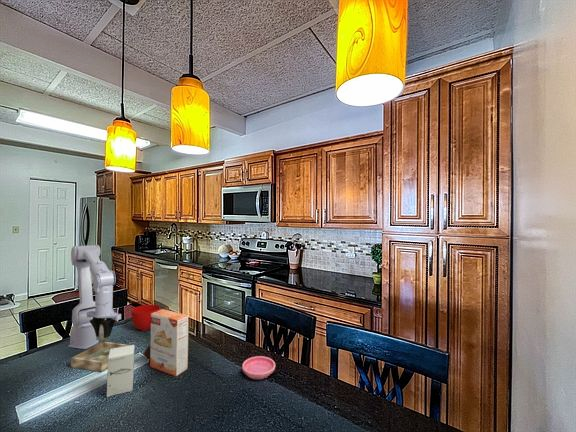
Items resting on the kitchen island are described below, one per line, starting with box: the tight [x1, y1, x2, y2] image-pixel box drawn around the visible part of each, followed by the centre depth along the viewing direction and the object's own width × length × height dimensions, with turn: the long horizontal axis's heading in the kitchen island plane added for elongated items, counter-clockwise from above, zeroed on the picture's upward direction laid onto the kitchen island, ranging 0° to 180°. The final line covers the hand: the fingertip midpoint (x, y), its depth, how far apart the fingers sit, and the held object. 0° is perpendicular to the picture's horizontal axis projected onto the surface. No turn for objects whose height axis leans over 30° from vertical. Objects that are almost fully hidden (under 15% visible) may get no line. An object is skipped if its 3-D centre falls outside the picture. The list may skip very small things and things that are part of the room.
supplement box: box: [106, 344, 135, 398], centre depth 90 cm, size 7×7×13 cm
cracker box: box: [149, 308, 189, 377], centre depth 102 cm, size 14×6×21 cm, turn 65°
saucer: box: [241, 355, 276, 380], centre depth 101 cm, size 12×12×3 cm
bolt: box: [143, 345, 151, 361], centre depth 116 cm, size 6×5×15 cm
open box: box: [70, 341, 130, 373], centre depth 107 cm, size 14×14×4 cm
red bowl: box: [131, 304, 161, 332], centre depth 137 cm, size 13×17×10 cm
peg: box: [98, 323, 109, 344], centre depth 107 cm, size 3×3×7 cm
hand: (103, 336), depth 107 cm, fingers closed on peg, 3 cm apart
